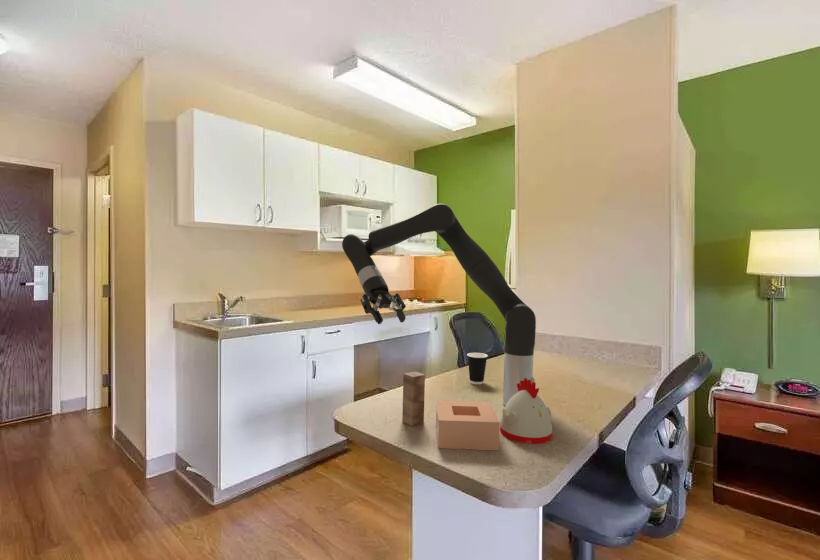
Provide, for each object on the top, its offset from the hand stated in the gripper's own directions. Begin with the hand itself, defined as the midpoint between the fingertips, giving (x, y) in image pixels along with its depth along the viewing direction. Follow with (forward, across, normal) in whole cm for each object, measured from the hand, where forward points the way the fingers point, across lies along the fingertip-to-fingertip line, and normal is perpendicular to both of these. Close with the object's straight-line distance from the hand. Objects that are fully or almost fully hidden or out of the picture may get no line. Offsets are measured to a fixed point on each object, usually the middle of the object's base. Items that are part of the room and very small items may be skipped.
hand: (392, 321), depth 128 cm
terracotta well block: (+39, +5, 0) cm, 39 cm away
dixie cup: (+15, +46, +24) cm, 54 cm away
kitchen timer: (+45, +20, -5) cm, 49 cm away
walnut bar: (+28, 0, +11) cm, 30 cm away
